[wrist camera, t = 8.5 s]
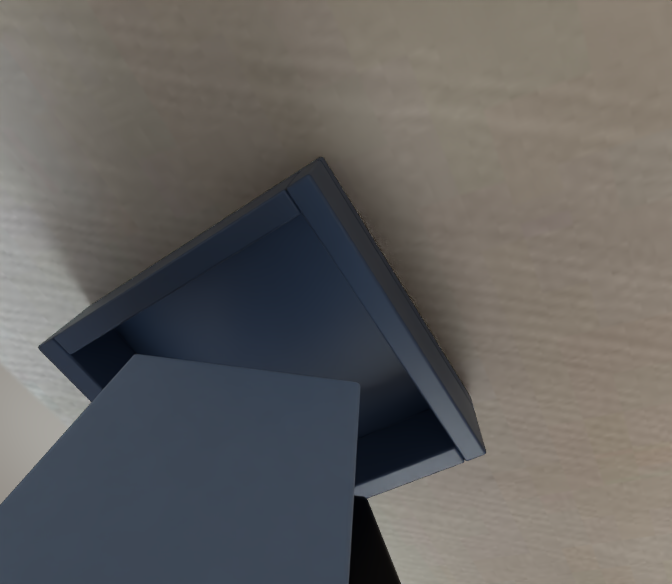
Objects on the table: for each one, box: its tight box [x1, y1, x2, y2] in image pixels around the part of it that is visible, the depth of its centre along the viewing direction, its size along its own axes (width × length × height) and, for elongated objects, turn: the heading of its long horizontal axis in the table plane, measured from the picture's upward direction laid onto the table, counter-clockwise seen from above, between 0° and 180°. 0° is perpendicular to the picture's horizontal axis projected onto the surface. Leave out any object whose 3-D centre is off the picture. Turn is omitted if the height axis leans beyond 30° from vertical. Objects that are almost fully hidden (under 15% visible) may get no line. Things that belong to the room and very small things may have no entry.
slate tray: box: [38, 157, 486, 499], centre depth 12 cm, size 8×8×2 cm
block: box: [0, 354, 360, 584], centre depth 8 cm, size 4×4×4 cm
